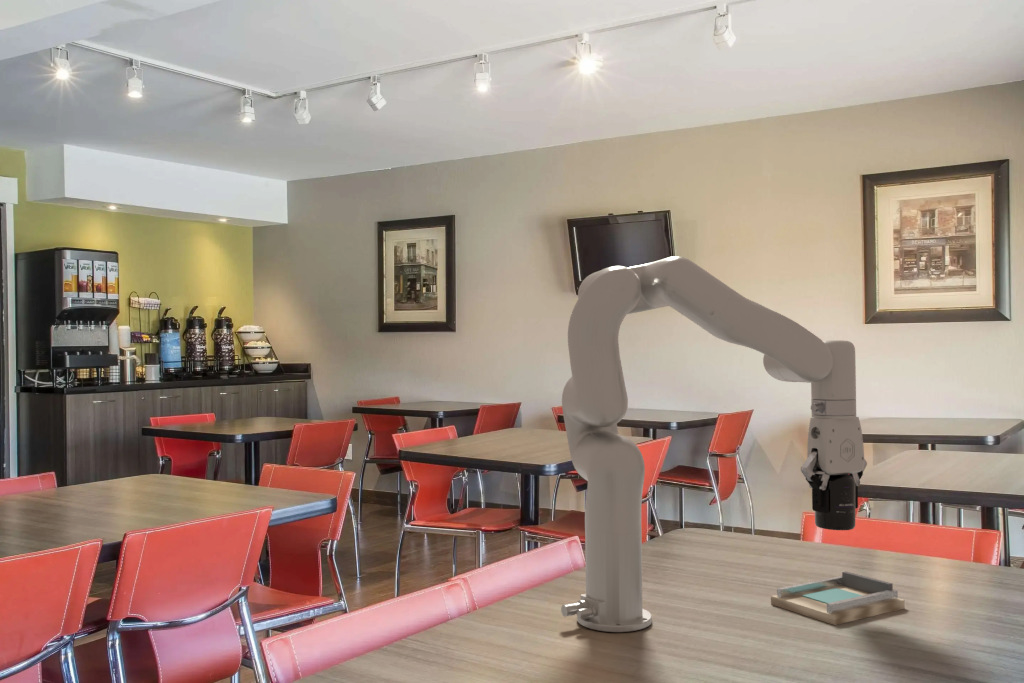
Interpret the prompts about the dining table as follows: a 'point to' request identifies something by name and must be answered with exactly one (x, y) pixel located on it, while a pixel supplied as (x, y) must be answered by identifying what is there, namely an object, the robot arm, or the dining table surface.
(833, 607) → the board
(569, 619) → the dining table surface
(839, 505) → the supplement bottle
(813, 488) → the robot arm
